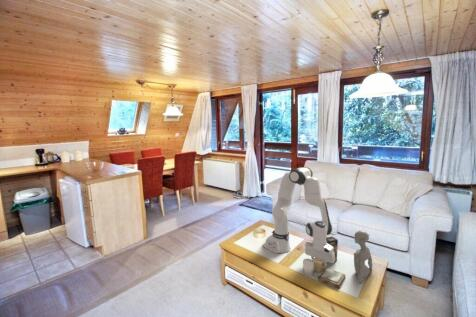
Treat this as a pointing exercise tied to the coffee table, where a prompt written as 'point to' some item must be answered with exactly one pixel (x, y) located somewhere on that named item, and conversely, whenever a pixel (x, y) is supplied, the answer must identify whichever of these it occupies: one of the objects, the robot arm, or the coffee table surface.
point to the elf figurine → (362, 256)
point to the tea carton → (318, 264)
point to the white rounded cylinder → (308, 267)
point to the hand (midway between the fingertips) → (319, 263)
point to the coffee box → (333, 244)
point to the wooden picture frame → (331, 277)
